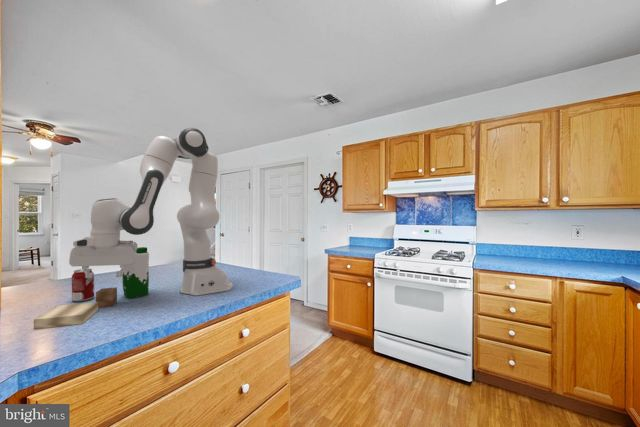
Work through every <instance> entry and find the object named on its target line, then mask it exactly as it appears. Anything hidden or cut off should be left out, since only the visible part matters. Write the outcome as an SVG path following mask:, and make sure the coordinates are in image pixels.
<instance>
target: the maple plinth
mask: <svg viewBox="0 0 640 427" xmlns="http://www.w3.org/2000/svg"><path fill="white" fill-rule="evenodd" d="M98 311H99V308H98V302H96V301H94V302H84V303H75V304H73V303H72V304H63V305H61V304H60V305H55V306H54V307H52V308H50V309H47V311H45V312H43V313H42V314H40V315H39V316H37V317H35V318H34V319H33V330H40V329H49V328H50V329H51V328H56V327H65V326H73V325H83V324H85V322H86V321H87V320H89V319H90V318H92V316H93V315H95V314H96V313H97V312H98Z"/></svg>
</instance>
